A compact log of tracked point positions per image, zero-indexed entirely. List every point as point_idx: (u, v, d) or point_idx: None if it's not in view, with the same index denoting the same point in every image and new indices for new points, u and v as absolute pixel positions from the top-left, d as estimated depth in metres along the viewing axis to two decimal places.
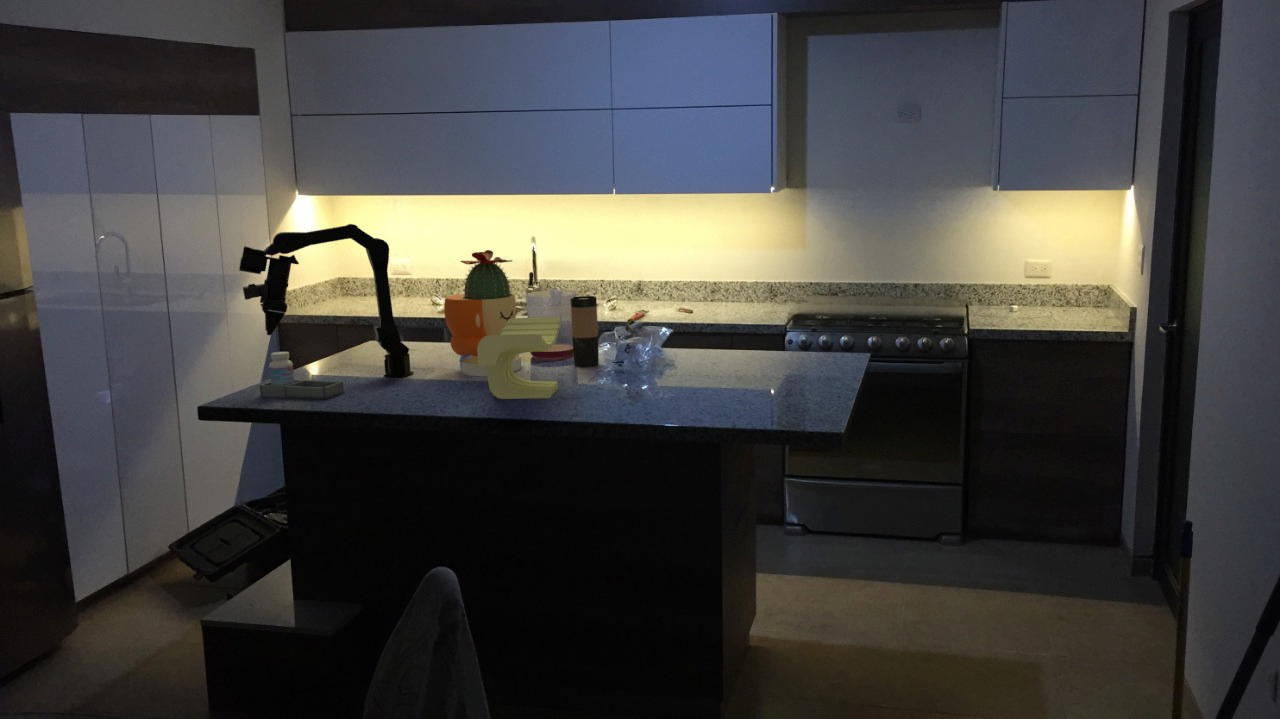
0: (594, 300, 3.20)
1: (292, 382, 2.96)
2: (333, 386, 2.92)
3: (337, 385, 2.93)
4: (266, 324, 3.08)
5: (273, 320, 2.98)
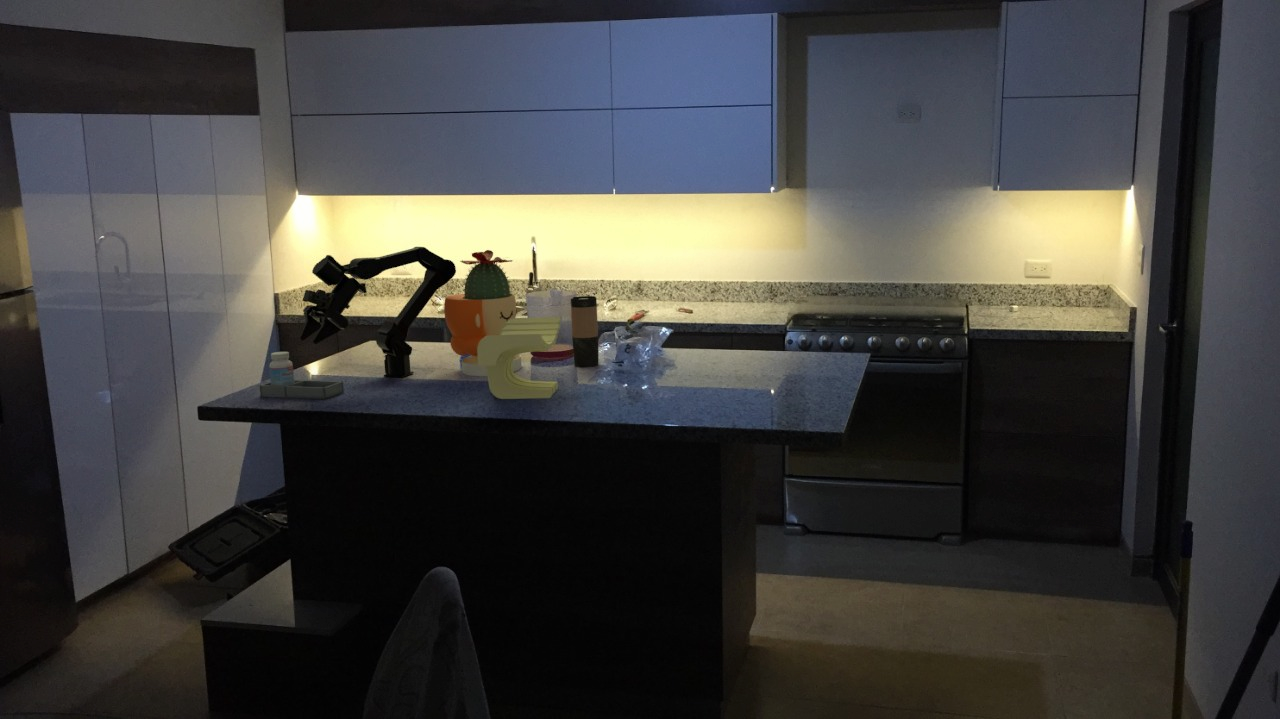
0: (594, 300, 3.20)
1: (292, 382, 2.96)
2: (333, 386, 2.92)
3: (337, 385, 2.93)
4: (303, 333, 3.04)
5: (326, 331, 2.97)
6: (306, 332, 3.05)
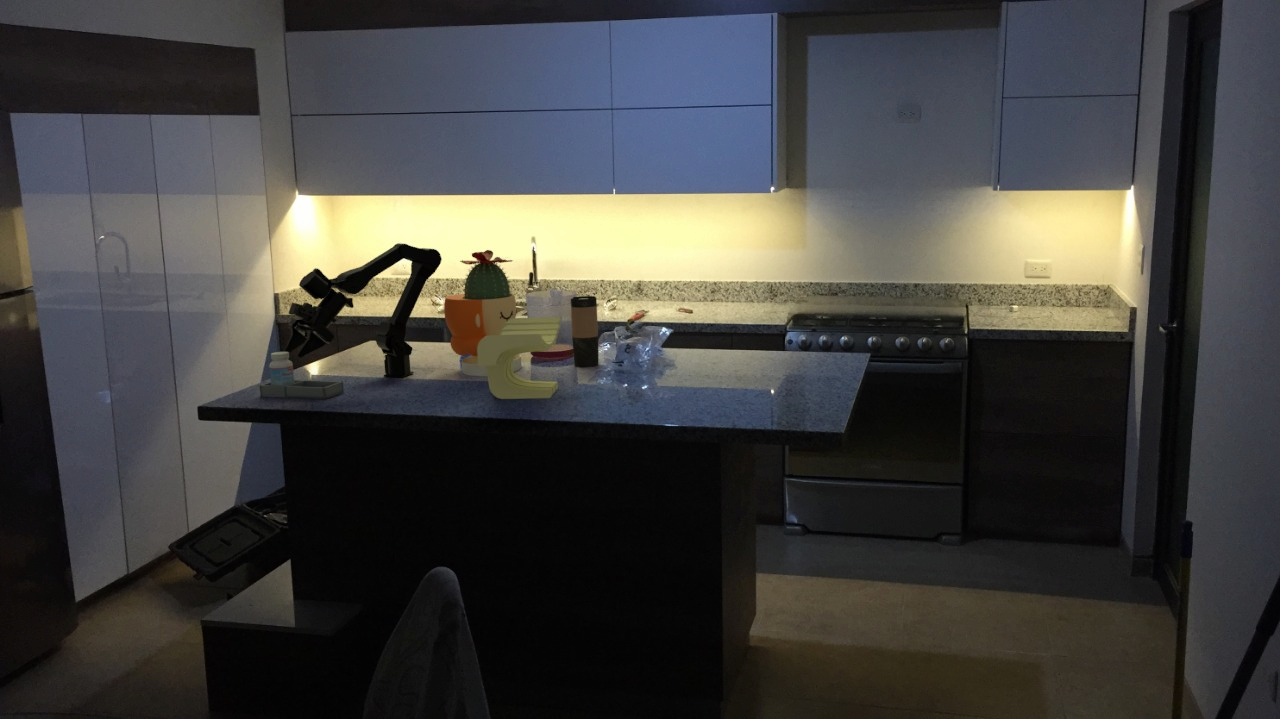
0: (594, 300, 3.20)
1: (292, 382, 2.96)
2: (333, 386, 2.92)
3: (337, 385, 2.93)
4: (288, 346, 3.02)
5: (311, 345, 2.95)
6: (291, 346, 3.02)
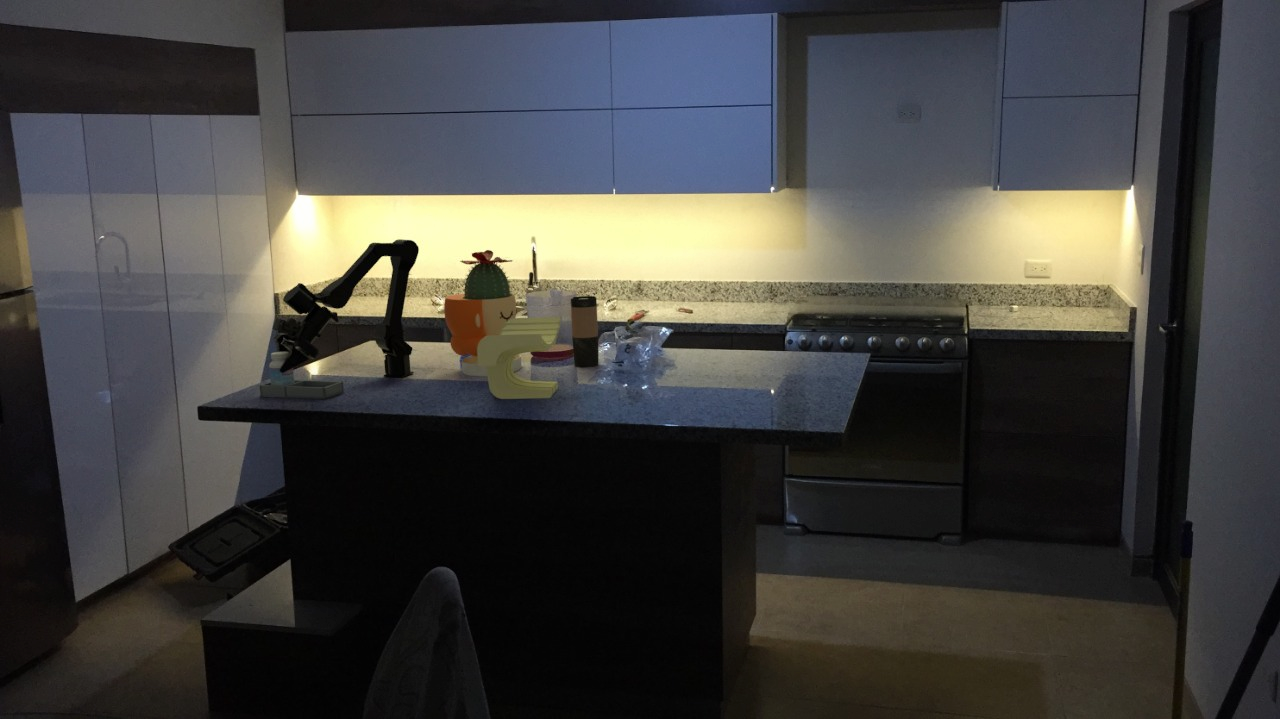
0: (594, 300, 3.20)
1: (292, 382, 2.96)
2: (333, 386, 2.92)
3: (337, 385, 2.93)
4: None
5: (293, 360, 2.94)
6: None
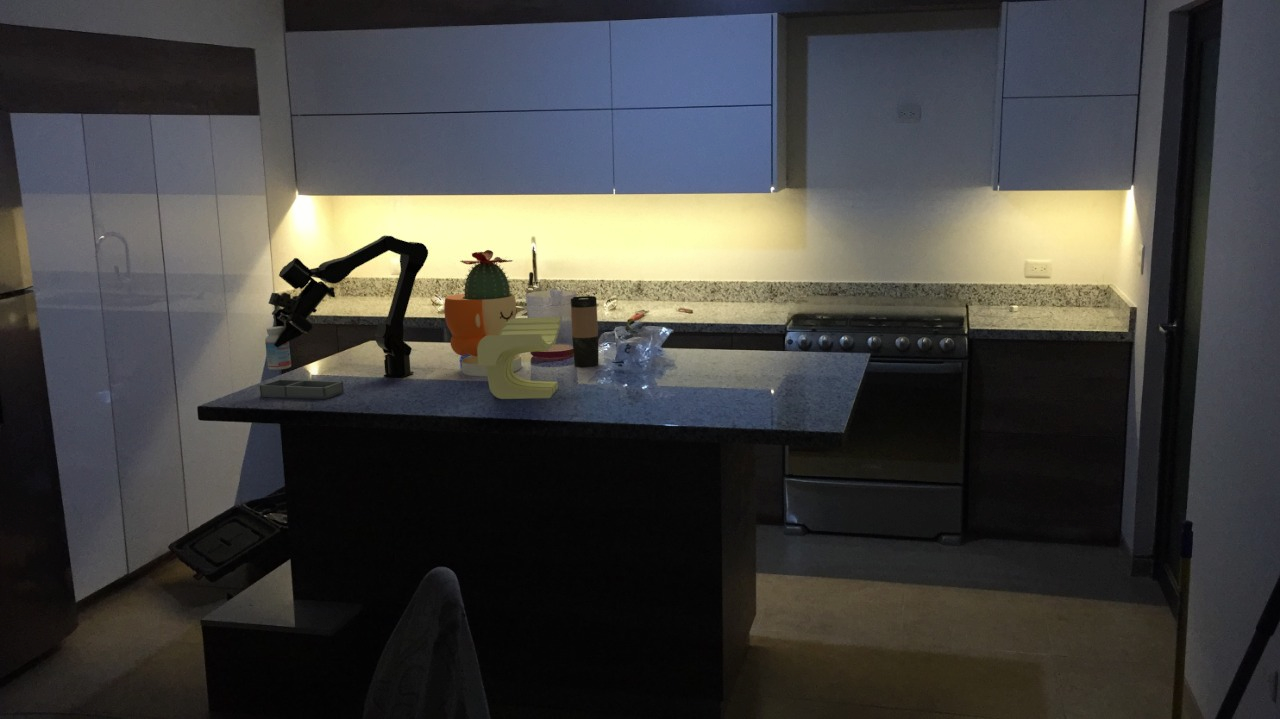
0: (594, 300, 3.20)
1: (287, 356, 2.97)
2: (333, 386, 2.92)
3: (337, 385, 2.93)
4: None
5: (288, 335, 2.95)
6: None
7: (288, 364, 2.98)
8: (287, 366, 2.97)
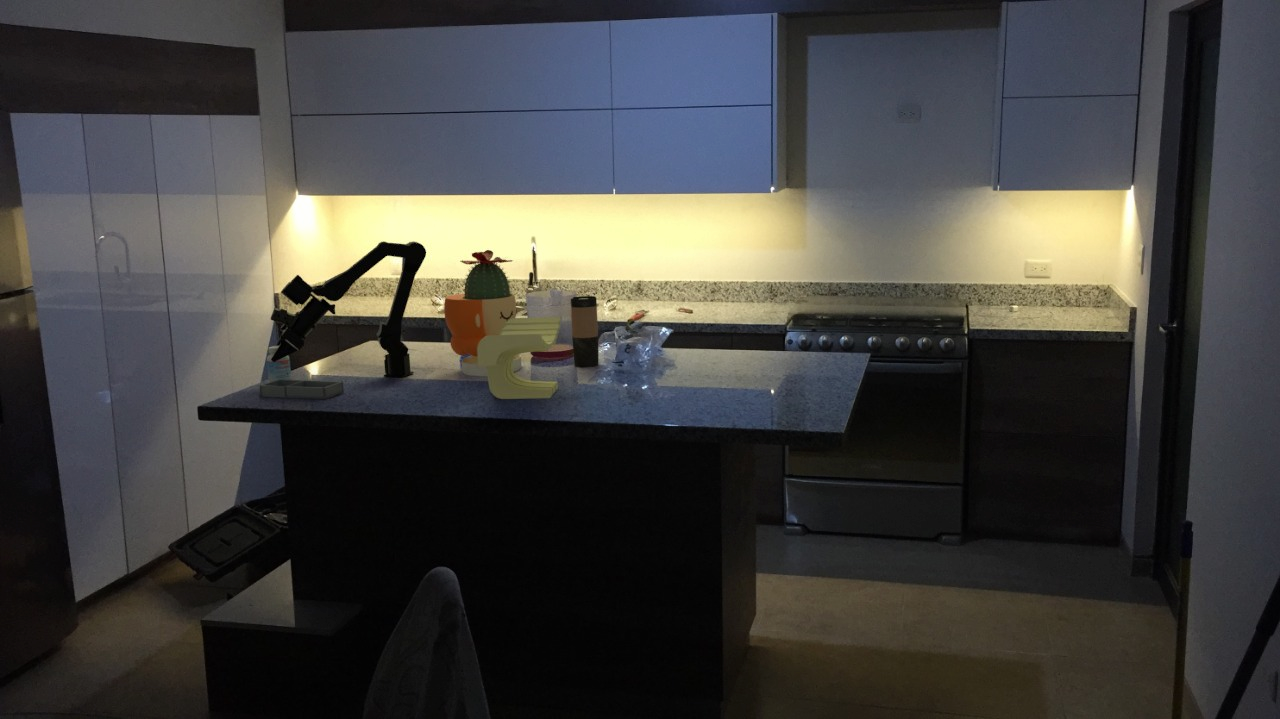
0: (594, 300, 3.20)
1: (286, 375, 3.06)
2: (333, 386, 2.92)
3: (337, 385, 2.93)
4: None
5: (284, 350, 3.02)
6: None
7: None
8: None
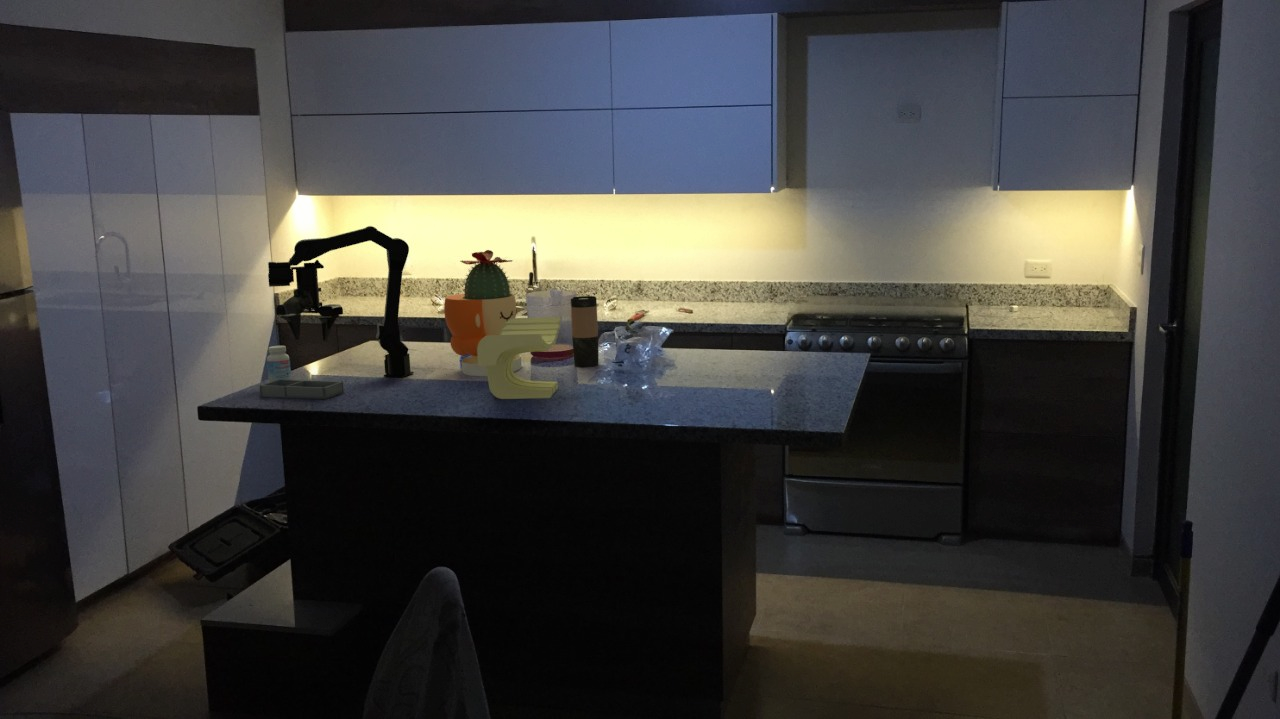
0: (594, 300, 3.20)
1: (286, 376, 3.06)
2: (333, 386, 2.92)
3: (337, 385, 2.93)
4: (296, 333, 3.10)
5: (328, 325, 3.07)
6: (297, 331, 3.11)
7: None
8: None
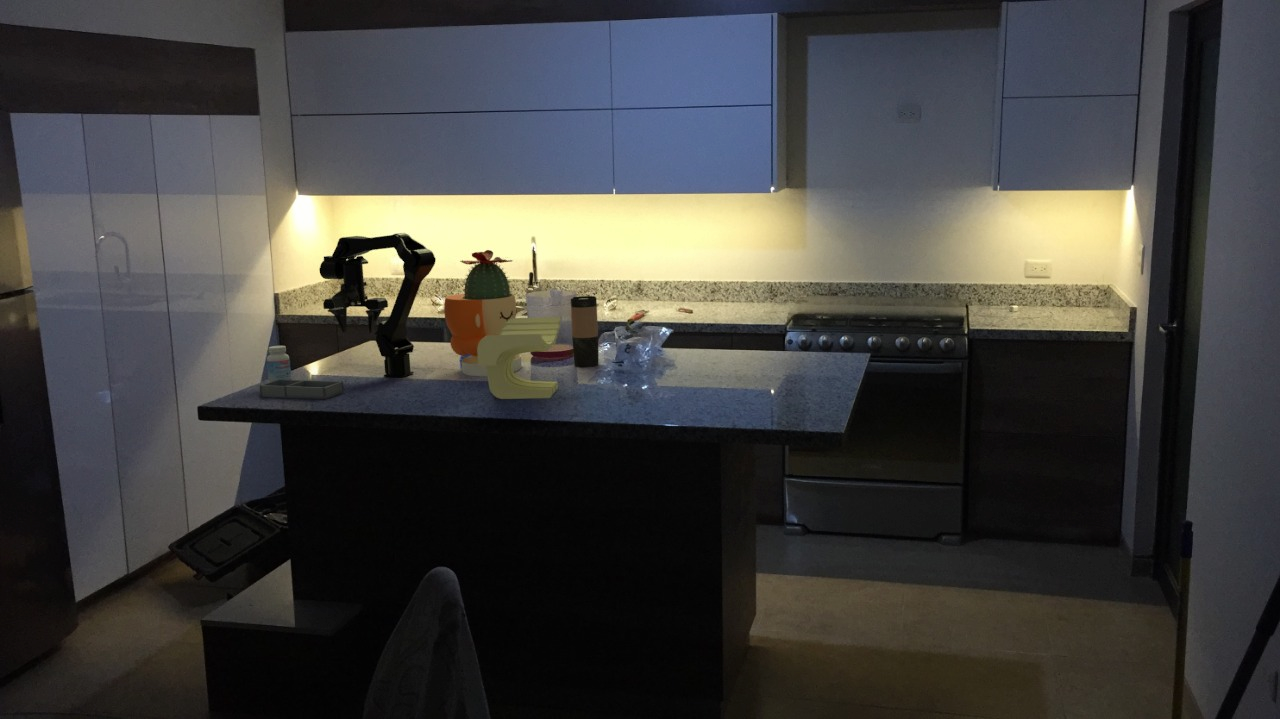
0: (594, 300, 3.20)
1: (286, 376, 3.06)
2: (333, 386, 2.92)
3: (337, 385, 2.93)
4: (343, 326, 3.24)
5: (374, 318, 3.21)
6: (344, 324, 3.24)
7: None
8: None
